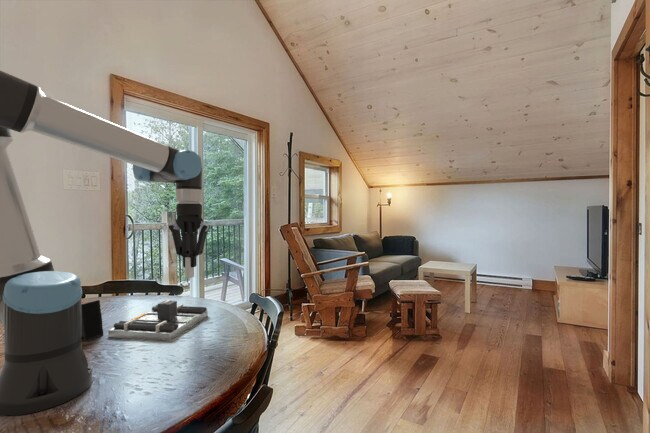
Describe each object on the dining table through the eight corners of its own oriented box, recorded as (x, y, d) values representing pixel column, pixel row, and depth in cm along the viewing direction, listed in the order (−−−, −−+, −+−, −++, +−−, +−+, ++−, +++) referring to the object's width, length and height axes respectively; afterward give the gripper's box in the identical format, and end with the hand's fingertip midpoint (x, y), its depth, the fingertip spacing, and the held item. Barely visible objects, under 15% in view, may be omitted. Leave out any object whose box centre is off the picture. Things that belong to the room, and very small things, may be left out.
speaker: (108, 335, 95) (104, 299, 96) (84, 342, 91) (80, 304, 91) (99, 331, 100) (96, 297, 100) (76, 338, 96) (73, 302, 96)
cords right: (202, 314, 110) (202, 308, 110) (151, 311, 112) (151, 306, 112) (208, 310, 114) (208, 305, 114) (158, 308, 116) (158, 303, 116)
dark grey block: (169, 320, 103) (169, 303, 103) (157, 319, 103) (157, 302, 103) (176, 316, 107) (176, 299, 107) (165, 315, 107) (165, 299, 107)
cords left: (172, 332, 93) (172, 326, 93) (112, 329, 95) (112, 322, 95) (180, 327, 97) (180, 321, 97) (122, 324, 99) (122, 318, 99)
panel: (169, 340, 92) (169, 332, 92) (108, 337, 94) (108, 329, 94) (207, 316, 114) (207, 309, 114) (157, 313, 116) (157, 307, 116)
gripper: (214, 203, 106) (214, 275, 107) (177, 203, 108) (177, 274, 109) (202, 202, 99) (203, 280, 99) (162, 202, 101) (163, 279, 101)
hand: (189, 277), depth 104 cm, fingers closed
